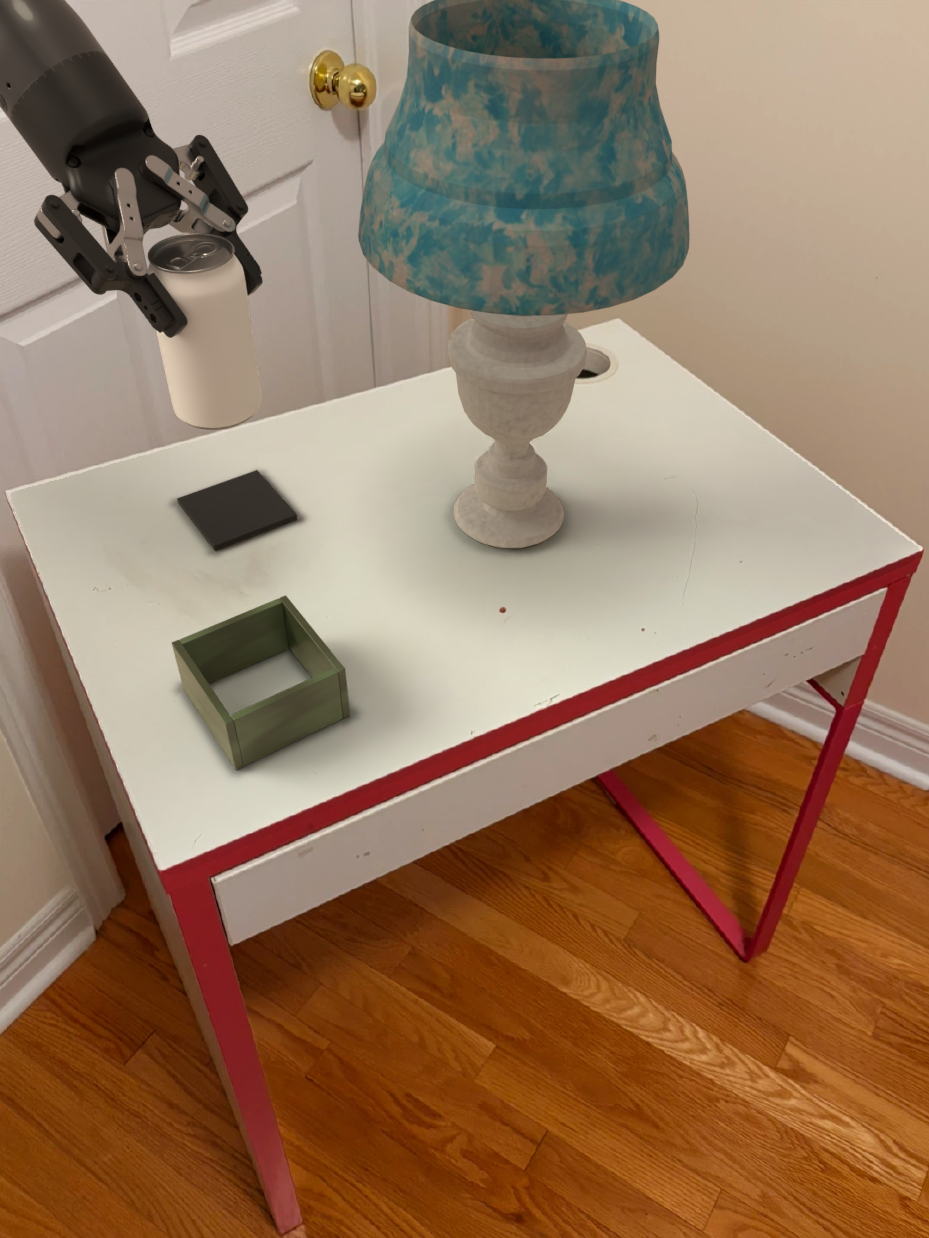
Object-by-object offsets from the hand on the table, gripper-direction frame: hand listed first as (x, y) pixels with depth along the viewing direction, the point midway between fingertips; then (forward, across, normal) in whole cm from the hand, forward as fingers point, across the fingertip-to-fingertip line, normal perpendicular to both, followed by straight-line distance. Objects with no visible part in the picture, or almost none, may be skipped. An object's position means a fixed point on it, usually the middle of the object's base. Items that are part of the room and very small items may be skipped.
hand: (217, 309), depth 71 cm
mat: (+12, +5, +23) cm, 26 cm away
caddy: (+24, -10, +10) cm, 28 cm away
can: (+5, 0, +7) cm, 9 cm away
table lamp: (+26, +19, +9) cm, 34 cm away
